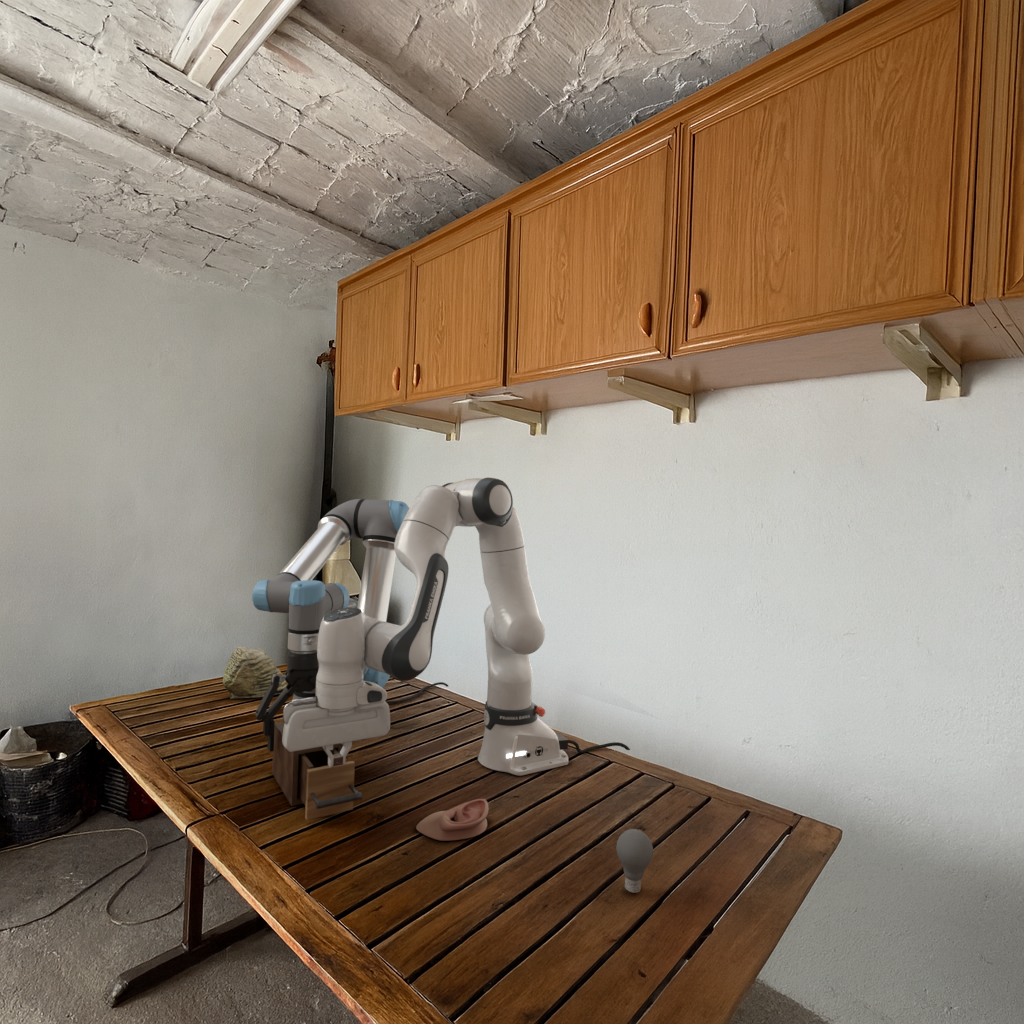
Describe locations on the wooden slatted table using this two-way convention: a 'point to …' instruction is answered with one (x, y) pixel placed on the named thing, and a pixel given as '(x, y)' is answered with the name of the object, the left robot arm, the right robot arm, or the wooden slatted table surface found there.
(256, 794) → the wooden slatted table surface
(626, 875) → the light bulb
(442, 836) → the anatomical model
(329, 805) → the drawer
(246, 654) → the fossil
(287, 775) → the cabinet
